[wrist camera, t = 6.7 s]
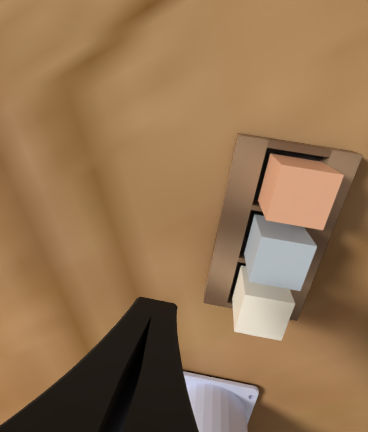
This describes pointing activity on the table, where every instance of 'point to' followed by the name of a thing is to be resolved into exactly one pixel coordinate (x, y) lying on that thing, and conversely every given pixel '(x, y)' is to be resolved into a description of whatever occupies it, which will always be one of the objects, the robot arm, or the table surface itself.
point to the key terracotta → (298, 191)
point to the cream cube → (261, 308)
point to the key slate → (278, 254)
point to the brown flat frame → (248, 206)
